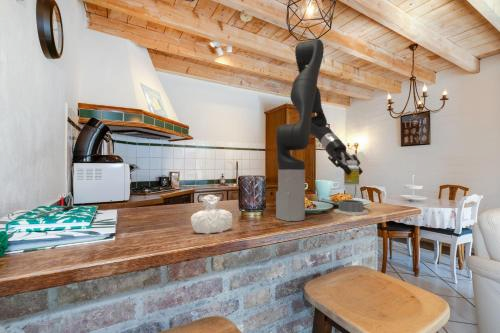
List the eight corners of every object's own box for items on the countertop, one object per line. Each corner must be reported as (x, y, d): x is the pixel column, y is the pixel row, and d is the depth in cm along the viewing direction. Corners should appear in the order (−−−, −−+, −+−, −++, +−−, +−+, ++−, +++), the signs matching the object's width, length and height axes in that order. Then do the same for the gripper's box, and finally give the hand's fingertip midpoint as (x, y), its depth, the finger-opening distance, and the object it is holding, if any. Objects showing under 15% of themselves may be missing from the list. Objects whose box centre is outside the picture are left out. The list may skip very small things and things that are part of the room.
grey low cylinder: (355, 216, 88) (355, 203, 88) (333, 212, 95) (333, 201, 95) (368, 213, 93) (368, 201, 93) (346, 209, 101) (346, 199, 101)
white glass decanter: (231, 236, 70) (224, 202, 76) (238, 224, 64) (230, 189, 71) (190, 241, 65) (186, 205, 72) (193, 229, 60) (189, 191, 66)
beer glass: (353, 185, 91) (353, 160, 91) (341, 184, 95) (341, 160, 95) (361, 185, 93) (362, 160, 94) (349, 184, 98) (349, 160, 98)
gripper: (324, 137, 98) (347, 166, 87) (349, 139, 104) (374, 166, 93) (315, 151, 103) (336, 180, 92) (340, 152, 109) (362, 179, 98)
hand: (355, 173), depth 93 cm, fingers closed on beer glass, 5 cm apart
